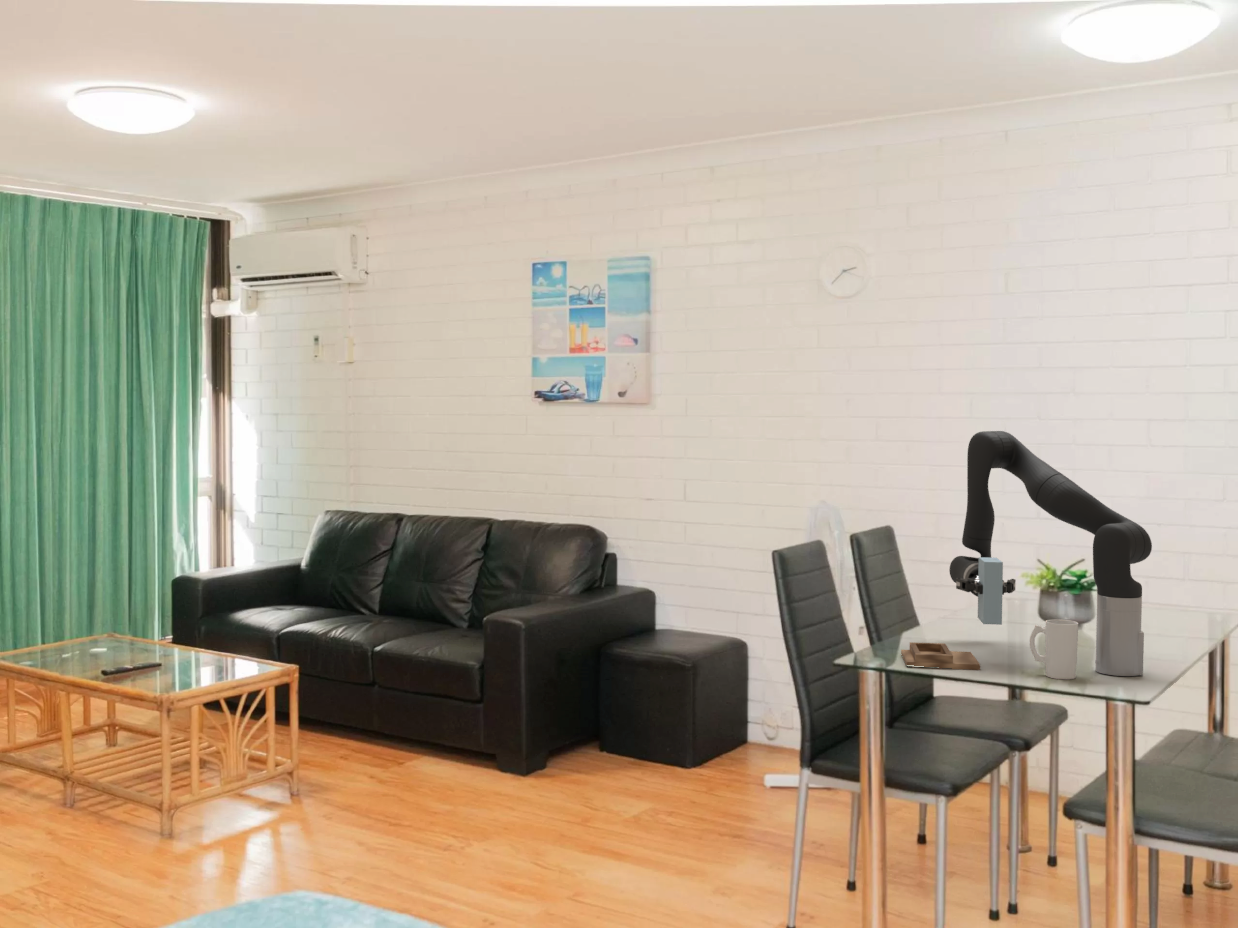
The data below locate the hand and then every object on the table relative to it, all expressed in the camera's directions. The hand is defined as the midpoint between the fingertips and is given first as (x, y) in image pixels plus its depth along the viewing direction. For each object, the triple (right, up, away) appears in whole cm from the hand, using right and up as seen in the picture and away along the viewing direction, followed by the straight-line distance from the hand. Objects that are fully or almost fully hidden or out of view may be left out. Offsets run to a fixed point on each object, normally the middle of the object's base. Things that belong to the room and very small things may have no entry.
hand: (992, 589), depth 275 cm
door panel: (0, -7, +3) cm, 8 cm away
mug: (+11, -18, -7) cm, 23 cm away
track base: (-10, -17, +7) cm, 21 cm away
